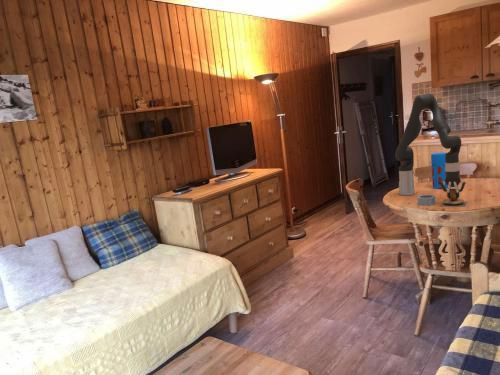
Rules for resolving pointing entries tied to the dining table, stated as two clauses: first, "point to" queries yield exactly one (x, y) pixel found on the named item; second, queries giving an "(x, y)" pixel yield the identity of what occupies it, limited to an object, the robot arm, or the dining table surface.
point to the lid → (453, 198)
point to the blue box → (438, 170)
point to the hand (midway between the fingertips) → (453, 198)
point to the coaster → (453, 205)
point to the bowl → (426, 200)
